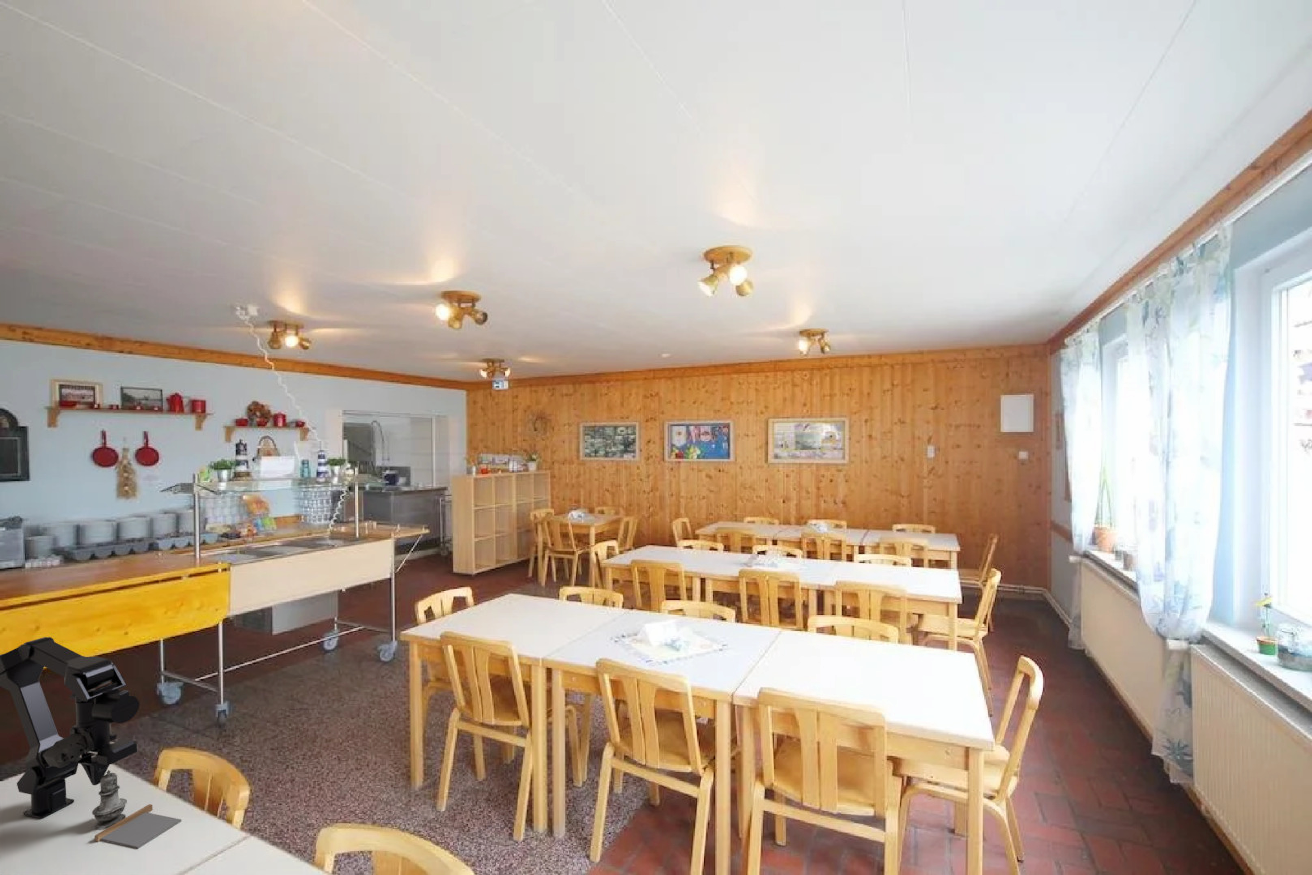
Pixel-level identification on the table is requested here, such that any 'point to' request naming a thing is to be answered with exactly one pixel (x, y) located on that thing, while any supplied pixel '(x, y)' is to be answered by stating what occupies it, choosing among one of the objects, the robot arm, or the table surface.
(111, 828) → the kerb
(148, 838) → the mat
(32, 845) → the table surface
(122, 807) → the stone baluster finial
